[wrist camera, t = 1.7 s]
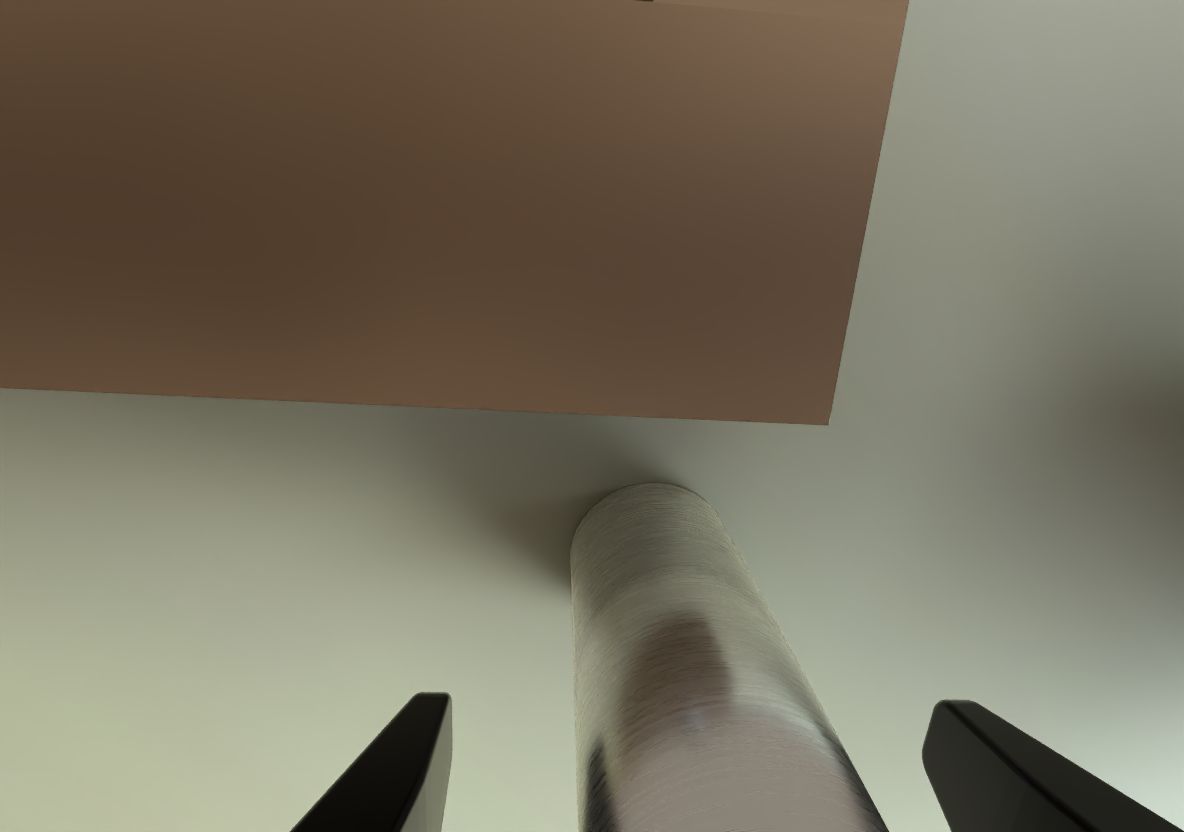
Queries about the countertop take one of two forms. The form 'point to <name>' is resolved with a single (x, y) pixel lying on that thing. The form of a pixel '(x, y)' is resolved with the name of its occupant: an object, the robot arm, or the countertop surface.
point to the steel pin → (692, 685)
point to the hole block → (441, 200)
